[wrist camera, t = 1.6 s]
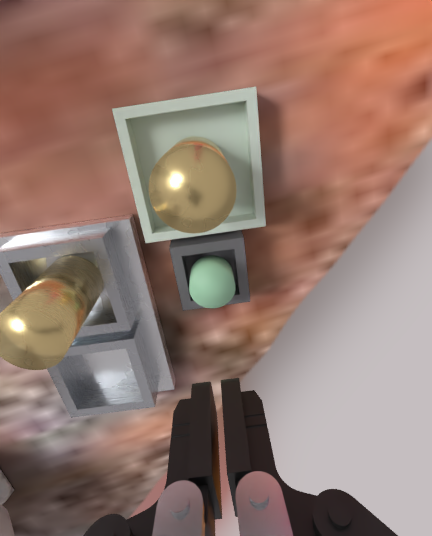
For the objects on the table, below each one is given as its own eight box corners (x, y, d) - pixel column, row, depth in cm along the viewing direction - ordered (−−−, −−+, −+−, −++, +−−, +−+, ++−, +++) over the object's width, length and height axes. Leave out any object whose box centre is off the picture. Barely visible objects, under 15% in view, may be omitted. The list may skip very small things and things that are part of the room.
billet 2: (159, 141, 20) (139, 152, 13) (222, 131, 20) (231, 138, 13) (171, 203, 21) (158, 238, 15) (229, 195, 21) (240, 227, 15)
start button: (187, 258, 21) (185, 271, 20) (230, 252, 21) (232, 264, 20) (194, 295, 23) (193, 310, 21) (235, 290, 23) (237, 304, 21)
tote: (120, 109, 19) (111, 108, 18) (251, 89, 19) (256, 86, 17) (150, 233, 23) (145, 243, 21) (261, 217, 23) (265, 226, 21)
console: (172, 235, 23) (169, 248, 21) (239, 225, 23) (243, 237, 21) (184, 293, 25) (182, 310, 23) (246, 285, 25) (250, 301, 23)
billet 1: (39, 259, 22) (-26, 315, 16) (94, 252, 22) (51, 305, 16) (59, 306, 24) (7, 374, 18) (110, 299, 24) (76, 364, 18)
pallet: (-4, 233, 23) (-34, 250, 20) (132, 214, 22) (122, 228, 19) (70, 392, 30) (56, 422, 27) (175, 379, 29) (172, 407, 26)
